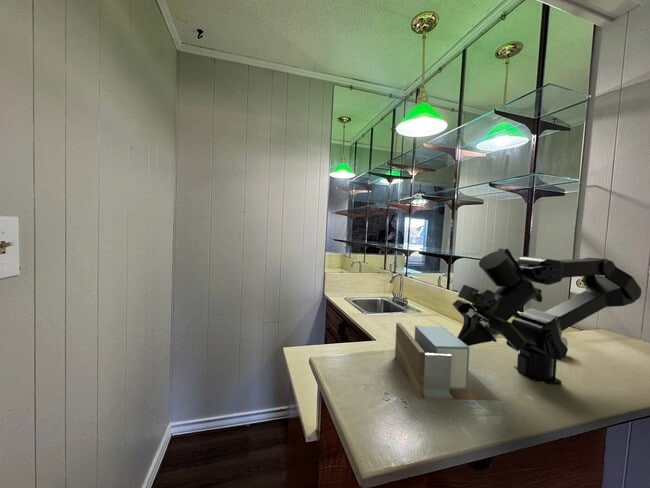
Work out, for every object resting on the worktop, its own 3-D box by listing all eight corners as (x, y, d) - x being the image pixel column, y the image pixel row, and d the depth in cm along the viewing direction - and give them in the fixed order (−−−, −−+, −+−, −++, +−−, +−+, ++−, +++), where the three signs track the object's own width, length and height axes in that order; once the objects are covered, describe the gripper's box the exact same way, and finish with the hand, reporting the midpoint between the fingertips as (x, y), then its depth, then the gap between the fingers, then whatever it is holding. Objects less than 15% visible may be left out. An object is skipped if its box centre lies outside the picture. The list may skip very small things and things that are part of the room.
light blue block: (441, 361, 66) (443, 326, 66) (467, 390, 54) (469, 347, 54) (413, 361, 66) (415, 325, 66) (433, 389, 54) (435, 346, 54)
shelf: (456, 360, 68) (458, 324, 68) (500, 403, 51) (502, 354, 51) (394, 359, 68) (396, 322, 68) (417, 400, 51) (420, 352, 51)
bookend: (447, 392, 53) (449, 353, 53) (452, 398, 51) (454, 358, 51) (420, 391, 53) (422, 352, 53) (424, 397, 51) (426, 357, 51)
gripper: (462, 268, 69) (417, 308, 69) (513, 281, 50) (452, 336, 50) (490, 299, 69) (446, 339, 69) (552, 324, 50) (491, 378, 51)
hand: (456, 346), depth 60 cm, fingers closed, pressing on light blue block
